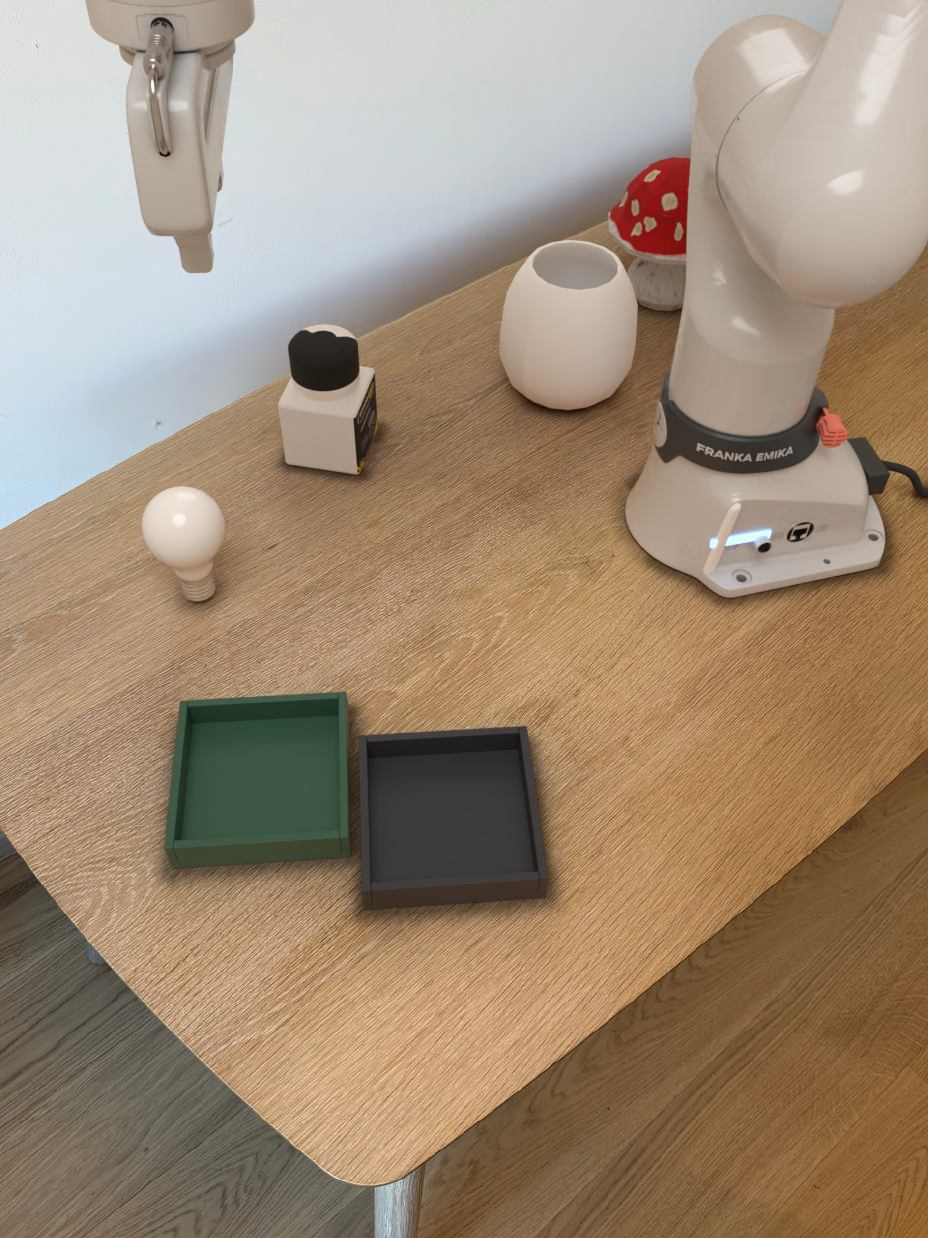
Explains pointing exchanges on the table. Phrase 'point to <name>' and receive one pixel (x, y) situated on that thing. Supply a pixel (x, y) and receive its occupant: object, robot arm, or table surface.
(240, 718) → the bulb tray
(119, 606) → the table surface
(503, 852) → the tray
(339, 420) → the medicine bottle
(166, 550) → the lightbulb
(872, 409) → the table surface
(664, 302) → the decorative mushroom
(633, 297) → the white vase
